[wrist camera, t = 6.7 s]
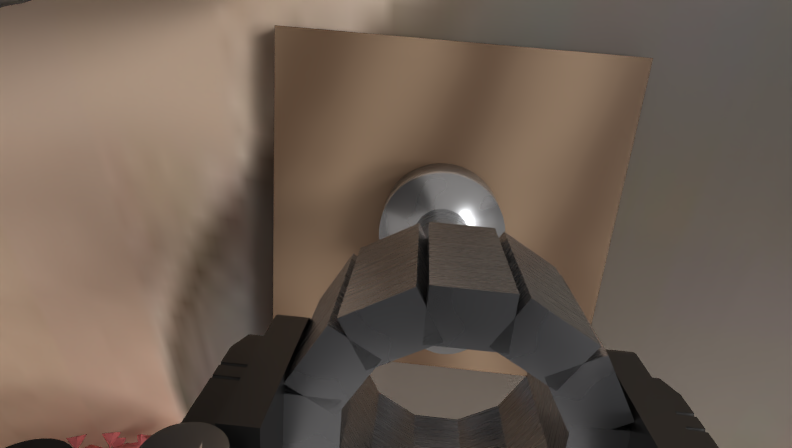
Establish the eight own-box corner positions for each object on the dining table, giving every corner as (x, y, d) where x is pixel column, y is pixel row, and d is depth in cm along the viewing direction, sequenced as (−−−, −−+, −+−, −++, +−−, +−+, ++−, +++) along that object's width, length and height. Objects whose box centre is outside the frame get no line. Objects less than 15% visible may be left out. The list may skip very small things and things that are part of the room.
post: (507, 169, 21) (554, 243, 13) (490, 279, 22) (522, 405, 14) (387, 158, 21) (361, 224, 13) (379, 267, 22) (350, 386, 15)
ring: (605, 239, 11) (670, 309, 8) (552, 466, 13) (589, 589, 10) (320, 210, 11) (282, 269, 8) (311, 439, 13) (277, 552, 10)
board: (640, 57, 20) (653, 58, 19) (571, 366, 25) (577, 381, 24) (283, 26, 21) (274, 25, 20) (279, 335, 25) (272, 348, 24)
